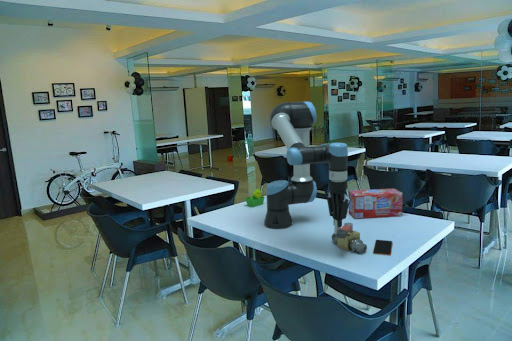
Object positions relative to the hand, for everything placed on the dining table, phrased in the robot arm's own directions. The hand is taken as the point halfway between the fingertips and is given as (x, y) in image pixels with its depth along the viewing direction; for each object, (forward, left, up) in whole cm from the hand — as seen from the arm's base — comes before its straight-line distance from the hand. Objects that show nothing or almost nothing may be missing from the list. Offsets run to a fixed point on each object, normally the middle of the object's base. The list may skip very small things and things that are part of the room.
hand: (337, 233), depth 170 cm
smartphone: (+7, +20, -10) cm, 23 cm away
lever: (+1, +3, -2) cm, 4 cm away
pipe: (-2, +8, -9) cm, 12 cm away
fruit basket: (-89, +9, -9) cm, 90 cm away
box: (-30, +53, -9) cm, 62 cm away
